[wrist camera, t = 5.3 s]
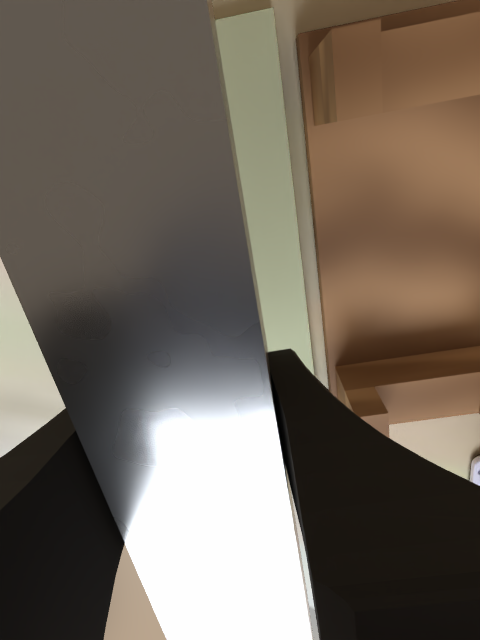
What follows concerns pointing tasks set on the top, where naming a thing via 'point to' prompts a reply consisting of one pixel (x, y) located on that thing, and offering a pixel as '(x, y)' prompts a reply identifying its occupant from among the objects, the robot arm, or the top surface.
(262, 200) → the mat
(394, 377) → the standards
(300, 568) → the rail
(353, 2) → the top surface
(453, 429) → the top surface
